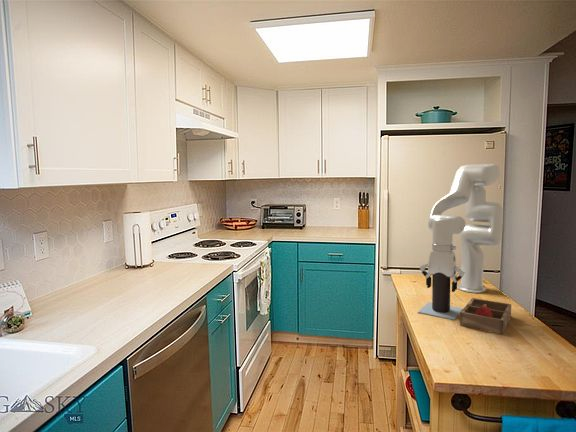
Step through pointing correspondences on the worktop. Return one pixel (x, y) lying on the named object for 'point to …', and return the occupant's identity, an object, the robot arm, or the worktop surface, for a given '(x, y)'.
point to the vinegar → (440, 292)
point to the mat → (448, 315)
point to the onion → (484, 311)
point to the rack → (483, 322)
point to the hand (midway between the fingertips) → (441, 289)
